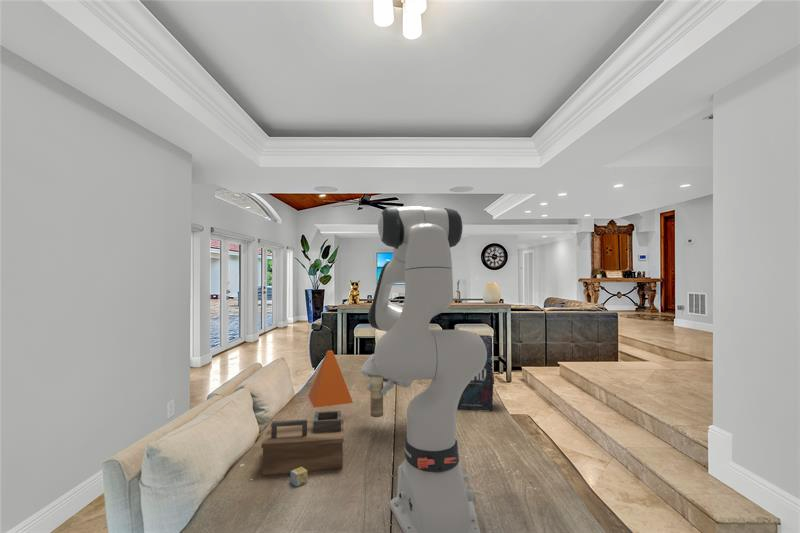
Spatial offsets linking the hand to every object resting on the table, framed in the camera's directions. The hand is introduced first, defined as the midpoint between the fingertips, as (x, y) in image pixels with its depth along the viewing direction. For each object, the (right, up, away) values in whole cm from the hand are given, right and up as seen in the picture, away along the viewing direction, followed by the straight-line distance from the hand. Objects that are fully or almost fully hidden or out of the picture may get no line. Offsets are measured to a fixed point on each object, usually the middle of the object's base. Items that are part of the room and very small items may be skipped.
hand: (375, 392), depth 119 cm
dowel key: (0, -7, 0) cm, 7 cm away
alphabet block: (-17, -14, -26) cm, 34 cm away
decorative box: (+36, -15, +28) cm, 48 cm away
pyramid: (-21, -16, +37) cm, 45 cm away
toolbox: (-19, -14, -14) cm, 27 cm away
